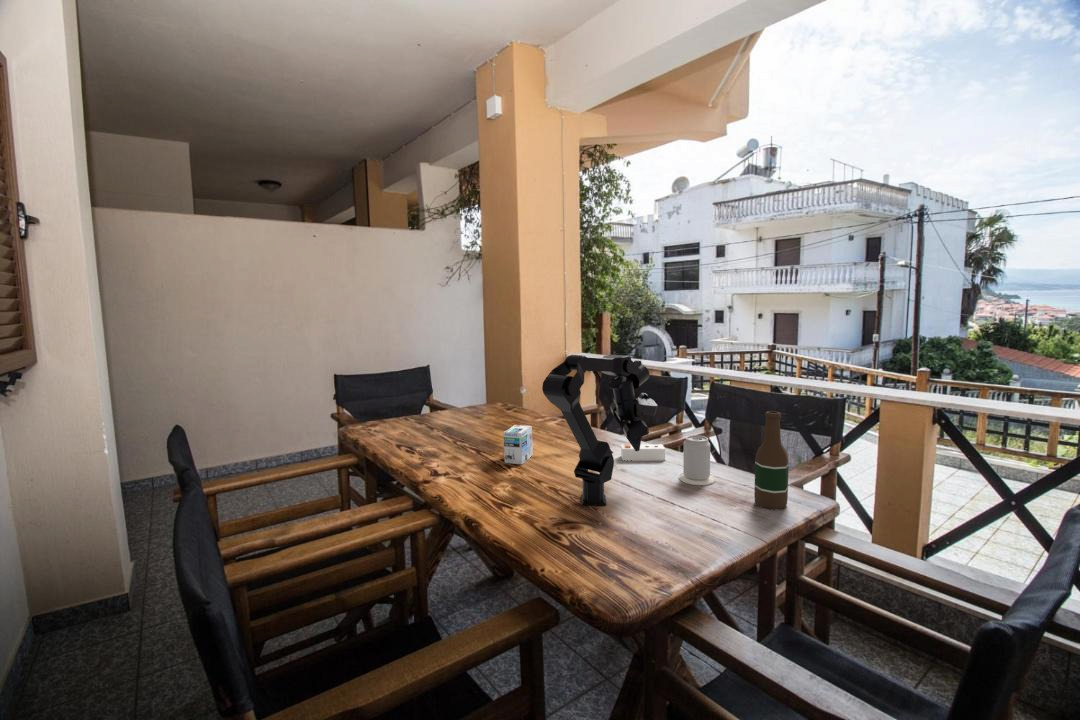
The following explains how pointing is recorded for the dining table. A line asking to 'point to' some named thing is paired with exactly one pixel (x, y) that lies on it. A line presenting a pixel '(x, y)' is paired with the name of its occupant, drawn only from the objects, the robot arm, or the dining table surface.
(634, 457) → the power strip
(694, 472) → the can
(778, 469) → the beer bottle
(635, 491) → the dining table surface
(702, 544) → the dining table surface
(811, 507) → the dining table surface
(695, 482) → the coaster
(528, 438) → the light bulb box
